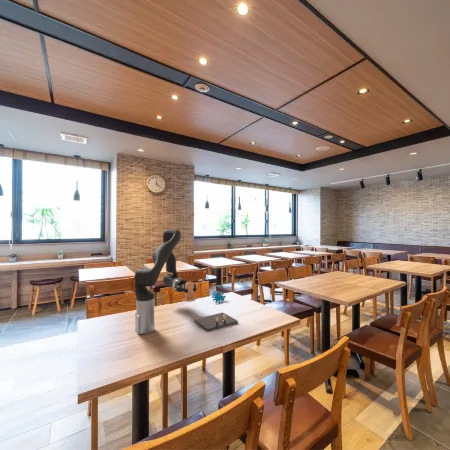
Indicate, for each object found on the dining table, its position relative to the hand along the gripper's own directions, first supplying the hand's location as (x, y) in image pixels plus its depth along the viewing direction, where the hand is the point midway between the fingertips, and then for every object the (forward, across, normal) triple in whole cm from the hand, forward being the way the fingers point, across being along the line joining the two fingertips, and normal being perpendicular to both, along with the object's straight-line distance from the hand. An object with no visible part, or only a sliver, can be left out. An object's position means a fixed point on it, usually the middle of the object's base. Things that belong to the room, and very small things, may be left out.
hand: (191, 290), depth 144 cm
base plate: (+11, +10, +18) cm, 23 cm away
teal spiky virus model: (-20, +32, +18) cm, 42 cm away
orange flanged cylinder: (-3, 0, +6) cm, 7 cm away
